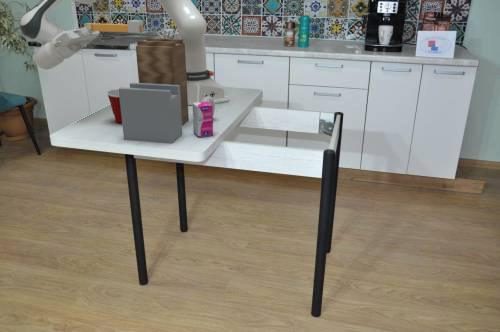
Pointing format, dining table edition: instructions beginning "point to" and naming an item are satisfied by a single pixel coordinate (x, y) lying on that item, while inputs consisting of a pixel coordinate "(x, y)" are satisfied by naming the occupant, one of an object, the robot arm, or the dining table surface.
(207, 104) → the supplement box
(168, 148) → the dining table surface
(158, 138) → the block
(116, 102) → the plastic cup
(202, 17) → the robot arm
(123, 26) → the orange squared block
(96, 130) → the dining table surface
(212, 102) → the donut
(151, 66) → the walnut post
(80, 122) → the dining table surface
